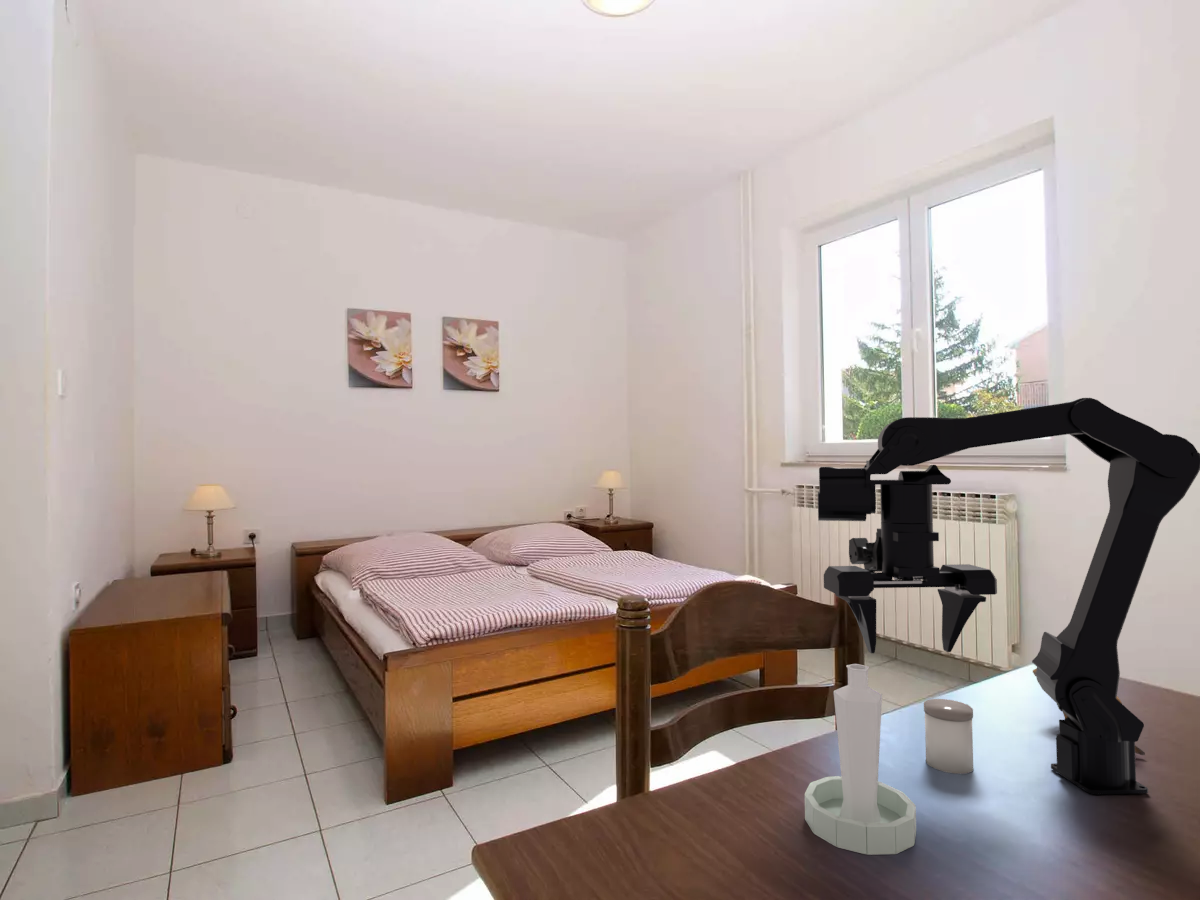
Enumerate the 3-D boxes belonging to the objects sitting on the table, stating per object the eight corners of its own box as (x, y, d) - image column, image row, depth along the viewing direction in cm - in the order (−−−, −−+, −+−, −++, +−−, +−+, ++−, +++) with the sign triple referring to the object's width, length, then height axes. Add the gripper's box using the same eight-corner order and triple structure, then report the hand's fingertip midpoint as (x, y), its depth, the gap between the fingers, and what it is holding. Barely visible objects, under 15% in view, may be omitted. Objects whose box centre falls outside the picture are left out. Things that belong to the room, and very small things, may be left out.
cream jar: (958, 754, 82) (957, 698, 82) (983, 773, 77) (982, 714, 77) (916, 755, 82) (915, 699, 82) (938, 774, 77) (937, 714, 77)
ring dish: (887, 799, 71) (886, 775, 72) (935, 853, 61) (935, 825, 62) (793, 800, 71) (793, 777, 71) (827, 855, 61) (826, 827, 61)
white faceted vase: (896, 830, 64) (892, 673, 65) (851, 832, 64) (848, 674, 64) (873, 806, 69) (870, 659, 69) (831, 808, 69) (828, 660, 69)
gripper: (947, 516, 89) (949, 634, 89) (808, 517, 89) (810, 636, 89) (998, 523, 78) (1001, 658, 78) (839, 525, 78) (842, 660, 78)
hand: (909, 651), depth 81 cm, fingers open, 9 cm apart
